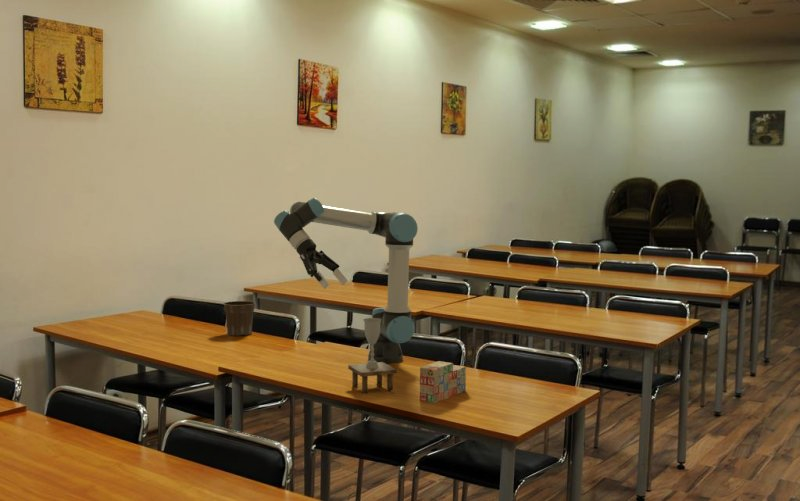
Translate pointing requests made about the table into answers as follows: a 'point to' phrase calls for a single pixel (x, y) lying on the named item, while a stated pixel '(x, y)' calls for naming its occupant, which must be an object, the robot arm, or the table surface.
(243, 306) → the plant pot
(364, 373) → the stool
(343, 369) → the table surface
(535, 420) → the table surface
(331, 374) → the table surface
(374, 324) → the chalice
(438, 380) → the stack of blocks
